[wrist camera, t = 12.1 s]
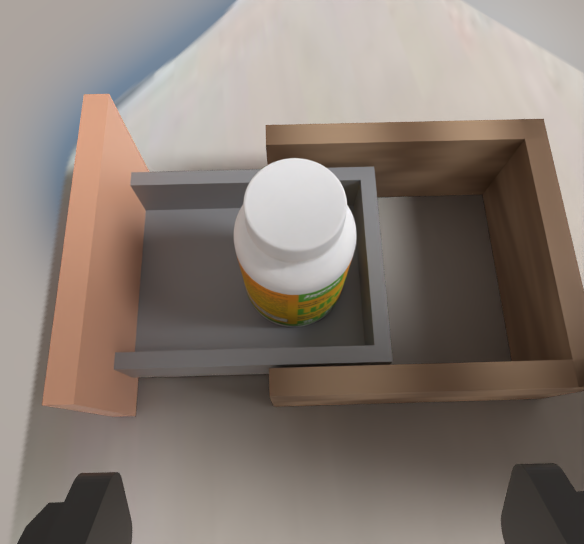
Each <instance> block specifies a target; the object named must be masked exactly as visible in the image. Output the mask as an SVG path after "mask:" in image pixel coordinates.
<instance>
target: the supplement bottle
mask: <svg viewBox="0 0 584 544" xmlns="http://www.w3.org/2000/svg"><path fill="white" fill-rule="evenodd" d="M234 245H235V251H236V255H237V259H238V262H239V265H240V269H241V273H242V276H243V280H244V284H245V287H246V291H247V294H248V297H249V299H250V301H251V303H252V304H253V306H254V307H255V309H256V310H257V311H258V312H259V313H260V314H261V315H262V316H263V317H264V318H266V319H267V320H269V321H271V322H273V323H275V324H278V325H282V326H286V327H302V326H307V325H310V324H313V323H315V322H317V321H319V320H320V319H322V318H323V317H325V316H326V315H327V314H328V313H329V312H330V311H331V310H332V308H333V307H334V306H335V304H336V302H337V300H338V299H339V296H340V294H341V291H342V288H343V285H344V282H345V279H346V276H347V273H348V270H349V267H350V264H351V261H352V258H353V254H354V250H355V245H356V225H355V221H354V218H353V215H352V213H351V210H350V209H349V207H348V205H347V199H346V194H345V191H344V188H343V186H342V184H341V183H340V181H339V180H338V178H337V177H336V176H335V175H334V174H333V173H332V172H331V171H330V170H329V169H327V168H326V167H324V166H323V165H321V164H319V163H317V162H314V161H311V160H307V159H300V158H289V159H282V160H279V161H276V162H273V163H271V164H269V165H267V166H265V167H264V168H262V169H261V170H260V171H259V172H258V173H257V174H256V175H255V176H254V177H253V178H252V180H251V181H250V183H249V184H248V186H247V188H246V191H245V195H244V201H243V205H242V207H241V209H240V211H239V213H238V215H237V218H236V221H235V226H234Z"/></svg>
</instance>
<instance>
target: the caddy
mask: <svg viewBox="0 0 584 544" xmlns="http://www.w3.org/2000/svg"><path fill="white" fill-rule="evenodd" d="M266 151H267V163H268V165H269V164H271V163H273V162H276V161H279V160H282V159H289V158H300V159H307V160H311V161H314V162H317V163H319V164H321V165H323V166H324V167H326V168H337V167H374V170H375V180H376V191H377V197H401V196H443V195H483V200H484V206H485V212H486V218H487V223H488V229H489V235H490V240H491V246H492V252H493V257H494V263H495V269H496V274H497V280H498V286H499V292H500V297H501V303H502V309H503V314H504V320H505V326H506V331H507V337H508V343H509V349H510V354H511V360H512V361H506V362H470V363H435V364H400V365H365V366H329V367H294V368H269V397H270V399H271V401H272V404H273V406H274V407H280V406H314V405H348V404H382V403H416V402H451V401H485V400H519V399H542V398H548V397H553V396H558V395H564V394H569V393H574V392H580V391H584V289H583V285H582V281H581V277H580V272H579V268H578V264H577V260H576V255H575V251H574V247H573V243H572V238H571V234H570V230H569V226H568V221H567V217H566V213H565V209H564V204H563V200H562V196H561V191H560V187H559V183H558V179H557V174H556V170H555V166H554V162H553V157H552V153H551V149H550V145H549V140H548V136H547V132H546V128H545V123H544V119H517V120H473V121H429V122H384V123H340V124H296V125H266Z"/></svg>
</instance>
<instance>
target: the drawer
mask: <svg viewBox="0 0 584 544" xmlns="http://www.w3.org/2000/svg"><path fill="white" fill-rule="evenodd" d="M327 169H329V170H330V171H331V172H332V173H333V174H334V175H335V176H336V177H337V178H338V180H339V181H340V183H341V184H342V186H343V188H344V191H345V194H346V199H347V205H348V207H349V209H350V210H351V213H352V215H353V218H354V221H355V225H356V245H355V250H354V254H353V258H352V261H351V264H350V267H349V270H348V273H347V276H346V279H345V282H344V285H343V288H342V291H341V294H340V296H339V299H338V300H337V302H336V304H335V306H334V307H333V308H332V310H331V311H330V312H329V313H328V314H327V315H326V316H325V317H323V318H322V319H320V320H319V321H317V322H315V323H313V324H310V325H307V326H302V327H286V326H282V325H278V324H275V323H273V322H271V321H269V320H267V319H266V318H264V317H263V316H262V315H261V314H260V313H259V312H258V311H257V310H256V309H255V307H254V306H253V304H252V303H251V301H250V299H249V297H248V294H247V291H246V287H245V284H244V280H243V276H242V273H241V269H240V265H239V262H238V259H237V255H236V251H235V245H234V226H235V221H236V218H237V215H238V213H239V211H240V209H241V207H242V205H243V201H244V195H245V191H246V188H247V186H248V184H249V183H250V181H251V180H252V178H253V177H254V176H255V175H256V174H257V173H258V172H259V171H260V170H261V169H252V170H210V171H167V172H149V170H148V168H147V166H146V164H145V162H144V161H143V159H142V157H141V155H140V153H139V151H138V149H137V147H136V145H135V143H134V141H133V139H132V137H131V135H130V133H129V131H128V130H127V128H126V126H125V124H124V122H123V120H122V118H121V116H120V114H119V112H118V110H117V108H116V106H115V104H114V102H113V101H112V99H111V97H110V95H109V94H84V98H83V105H82V113H81V120H80V127H79V135H78V142H77V149H76V157H75V164H74V171H73V179H72V186H71V194H70V201H69V208H68V216H67V223H66V231H65V238H64V245H63V253H62V260H61V268H60V275H59V282H58V290H57V297H56V305H55V312H54V319H53V327H52V334H51V342H50V349H49V356H48V364H47V371H46V379H45V386H44V393H43V401H42V405H43V406H49V407H56V408H62V409H68V410H74V411H80V412H87V413H93V414H99V415H105V416H112V417H122V416H136V404H137V391H138V378H139V377H174V376H209V375H244V374H269V368H294V367H329V366H365V365H389V364H390V363H392V362H393V358H392V347H391V337H390V326H389V316H388V306H387V295H386V285H385V274H384V264H383V253H382V243H381V233H380V222H379V212H378V201H377V191H376V180H375V170H374V167H337V168H327Z"/></svg>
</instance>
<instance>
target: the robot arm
mask: <svg viewBox="0 0 584 544" xmlns="http://www.w3.org/2000/svg"><path fill="white" fill-rule="evenodd" d="M501 527H502V533H503V538H504V542H505V544H584V491H580V492H576V491H575V489H574V487H573V486H572V484H571V483H570V481H569V480H568V478H567V476H566V475H565V473H564V472H563V470H562V469H561V468H560V467H559V466H558V465H556V464H553V463H548V464H517V465H515V466H514V468H513V470H512V473H511V478H510V482H509V486H508V490H507V494H506V498H505V502H504V506H503V510H502V515H501ZM131 542H132V521H131V517H130V512H129V508H128V504H127V499H126V495H125V491H124V486H123V482H122V478H121V475H120V474H119V473H118V472H109V473H81V474H79V475H78V476H77V477H76V478H75V480H74V482H73V484H72V486H71V488H70V490H69V493H68V495H67V497H66V499H65V501H64V502H58V503H48V504H47V505H46V506H45V507H44V508H43V510H42V511H41V512H40V513H39V514H38V515H37V516H36V517H35V518H34V519H33V520H32V521H31V522H30V523H29V524H28V525H27V526H26V528H25V530H24V531H23V533H22V535H21V537H20V539H19V541H18V543H17V544H131Z"/></svg>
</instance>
